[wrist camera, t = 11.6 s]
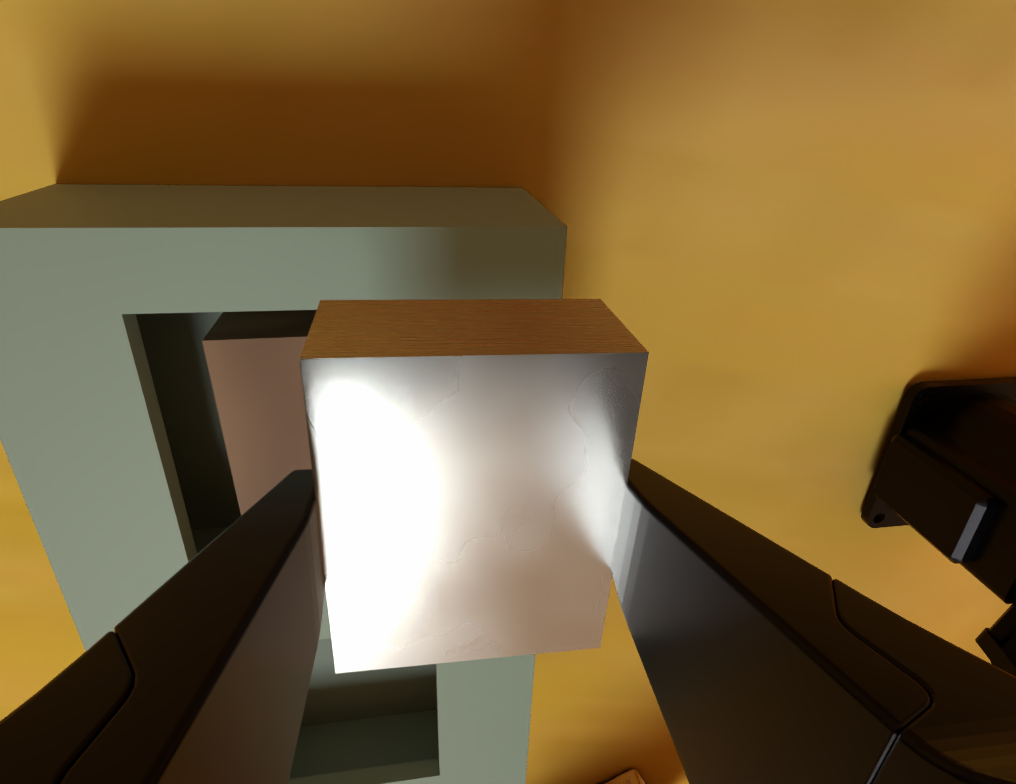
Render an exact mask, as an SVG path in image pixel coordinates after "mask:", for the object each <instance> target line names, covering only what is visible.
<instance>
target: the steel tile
mask: <svg viewBox="0 0 1016 784" xmlns="http://www.w3.org/2000/svg"><path fill="white" fill-rule="evenodd" d="M648 354H649V352H648V351H647V350H646V349H645V348H644V347H643V346H642V344H641V343H640V342H639V341H638V340H637V339H636V338H635V337H634V336H633V334H632V333H631V332H630V331H629V330H628V329H627V328H626V327H625V326H624V325H623V323H622V322H621V321H620V320H619V319H618V318H617V317H616V316H615V315H614V314H613V312H612V311H611V310H610V309H609V308H608V307H607V306H606V305H605V304H604V302H603V301H602V300H601V299H464V300H320V302H319V305H318V308H317V311H316V314H315V316H314V319H313V322H312V325H311V327H310V330H309V333H308V336H307V339H306V341H305V344H304V347H303V350H302V353H301V355H300V358H299V361H300V369H301V378H302V387H303V395H304V404H305V413H306V421H307V430H308V439H309V447H310V456H311V465H312V474H313V482H314V491H315V497H316V499H317V507H318V518H319V529H320V540H321V551H322V560H323V569H324V578H325V586H326V595H327V604H328V613H329V621H330V630H331V639H332V647H333V656H334V665H335V673H346V672H356V671H366V670H377V669H387V668H397V667H407V666H417V665H428V664H438V663H448V662H458V661H468V660H479V659H489V658H499V657H509V656H519V655H530V654H540V653H550V652H560V651H570V650H581V649H591V648H600V645H601V639H602V633H603V627H604V621H605V615H606V609H607V603H608V597H609V591H610V585H611V578H612V571H611V565H612V560H613V554H614V549H615V543H616V538H617V532H618V527H619V521H620V516H621V510H622V505H623V500H624V494H625V489H626V485H627V481H628V475H629V469H630V463H631V457H632V451H633V445H634V439H635V433H636V427H637V420H638V414H639V408H640V402H641V396H642V390H643V384H644V378H645V372H646V366H647V360H648Z"/></svg>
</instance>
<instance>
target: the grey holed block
mask: <svg viewBox="0 0 1016 784" xmlns="http://www.w3.org/2000/svg"><path fill="white" fill-rule="evenodd" d="M566 235H567V226H566V225H565V224H564V223H562V222H561V221H560V220H559V219H558V218H557V217H556V216H554V215H553V214H552V213H551V212H550V211H549V210H548V209H546V208H545V207H544V206H543V205H542V204H541V203H540V202H539V201H537V200H536V199H535V198H534V197H533V196H532V195H531V194H529V193H528V192H527V191H526V190H525V189H524V188H502V187H372V186H243V185H113V184H53V185H50V186H47V187H44V188H41V189H37V190H34V191H31V192H28V193H25V194H22V195H19V196H15V197H12V198H9V199H6V200H3V201H0V440H1V442H2V445H3V447H4V450H5V452H6V455H7V457H8V460H9V462H10V464H11V467H12V469H13V472H14V474H15V477H16V479H17V482H18V484H19V487H20V489H21V492H22V494H23V497H24V499H25V502H26V504H27V507H28V509H29V512H30V514H31V516H32V519H33V521H34V524H35V526H36V529H37V531H38V534H39V536H40V539H41V541H42V544H43V546H44V549H45V551H46V554H47V556H48V559H49V561H50V564H51V566H52V568H53V571H54V573H55V576H56V578H57V581H58V583H59V586H60V588H61V591H62V593H63V596H64V598H65V601H66V603H67V606H68V608H69V611H70V613H71V616H72V618H73V621H74V623H75V625H76V628H77V630H78V633H79V635H80V638H81V640H82V643H83V645H84V648H85V650H86V651H87V650H88V649H89V648H90V647H92V646H93V645H94V644H95V643H96V642H97V641H98V640H100V639H101V638H102V637H103V636H104V635H105V634H106V633H108V632H110V631H113V632H114V627H115V626H116V625H117V624H118V623H119V622H120V621H122V620H123V619H124V618H125V617H126V616H127V615H128V614H130V613H131V612H132V611H133V610H134V609H135V608H136V607H138V606H139V605H140V604H141V603H142V602H143V601H144V600H146V599H147V598H148V597H149V596H150V595H151V594H152V593H154V592H155V591H156V590H157V589H158V588H159V587H160V586H162V585H163V584H164V583H165V582H166V581H167V580H168V579H170V578H171V577H172V576H173V575H174V574H175V573H176V572H178V571H179V570H180V569H181V568H182V567H183V566H184V565H186V564H187V563H188V562H189V561H190V560H191V559H192V558H194V557H195V556H196V555H197V554H198V553H199V552H200V551H202V550H203V549H204V548H205V547H206V546H207V545H208V544H210V543H211V542H212V541H213V540H214V539H215V538H216V537H218V536H219V535H220V534H221V533H222V532H223V531H224V530H226V529H227V528H228V527H229V526H230V525H231V524H232V523H234V522H235V521H236V520H237V519H238V518H239V517H240V516H241V513H240V508H239V504H238V499H237V495H236V490H235V486H234V481H233V477H232V473H231V468H230V464H229V459H228V455H227V450H226V446H225V441H224V437H223V432H222V428H221V423H220V419H219V414H218V410H217V405H216V401H215V396H214V392H213V387H212V383H211V378H210V374H209V369H208V365H207V361H206V356H205V352H204V347H203V343H202V340H203V339H204V337H205V336H206V335H207V333H208V332H209V331H210V329H211V328H212V327H213V325H214V324H215V322H216V321H217V320H218V318H219V317H220V316H221V314H222V313H223V312H240V311H283V310H317V308H318V305H319V302H320V300H464V299H562V288H563V275H564V261H565V248H566ZM534 662H535V654H530V655H519V656H509V657H499V658H489V659H479V660H468V661H458V662H448V663H438V664H428V665H417V666H407V667H397V668H387V669H377V670H366V671H356V672H346V673H335V665H334V656H333V647H332V639H331V630H330V621H329V613H328V604H327V595H326V586H325V589H324V602H323V613H322V622H321V630H320V636H319V641H318V647H317V652H316V656H315V661H314V666H313V670H312V675H311V680H310V684H309V689H308V693H307V698H306V703H305V707H304V712H303V717H302V721H301V726H300V731H299V735H298V740H297V745H296V749H295V754H294V759H293V763H292V768H291V773H290V777H289V782H288V784H525V782H526V769H527V756H528V742H529V729H530V716H531V702H532V689H533V675H534Z"/></svg>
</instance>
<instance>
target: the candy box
mask: <svg viewBox="0 0 1016 784" xmlns="http://www.w3.org/2000/svg"><path fill="white" fill-rule="evenodd" d="M604 784H645V782H644V781H643V779H642V778H641V776H640V775H639V774H638V772H637V771H636V770H634V769H631V770H629V771H627V772H625V773H623V774H621V775H619V776H617V777H616V778H615V779H613V780H610V781H609V782H607V783H604Z"/></svg>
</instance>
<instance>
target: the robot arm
mask: <svg viewBox="0 0 1016 784" xmlns="http://www.w3.org/2000/svg"><path fill="white" fill-rule="evenodd" d="M861 518H862V520H863V521H864V522H865V523H866V524H867V525H868V526H870V527H871V528H880V527H891V526H902V525H910V526H911V527H912V528H913V529H914V530H915V531H917V532H918V533H919V534H920V535H921V536H922V537H924V538H925V539H926V540H927V541H928V542H929V543H930V544H932V545H933V546H934V547H935V548H936V549H937V550H938V551H940V552H941V553H942V554H943V555H944V556H945V557H946V558H948V559H949V560H950V561H951V562H953V563H959V564H961V565H962V566H963V567H964V568H965V569H966V570H968V571H969V572H970V573H971V574H972V575H973V576H974V577H976V578H977V579H978V580H979V581H980V582H981V583H983V584H984V585H985V586H986V587H987V588H988V589H990V590H991V591H992V592H993V593H994V594H995V595H996V596H998V597H999V598H1000V599H1001V600H1002V601H1003V602H1005V603H1006V604H1012V603H1013V604H1012V605H1011V606H1010V607H1009V608H1008V609H1007V610H1006V611H1005V613H1004V614H1003V615H1002V616H1001V617H1000V618H999V619H998V620H997V621H996V622H995V623H994V624H993V625H992V627H991V628H985V629H984V630H983V631H982V632H981V633H980V635H979V636H978V637H977V638H976V639H975V641H976V642H977V644H978V645H979V646H980V648H981V649H982V650H983V651H984V653H985V654H986V655H987V657H988V658H989V659H990V661H991V664H990V663H988V662H986V661H984V660H982V659H980V658H979V657H977V656H975V655H973V654H971V653H969V652H967V651H965V650H963V649H961V648H959V647H957V646H955V645H953V644H952V643H950V642H948V641H946V640H944V639H942V638H940V637H938V636H936V635H935V634H933V633H931V632H929V631H927V630H925V629H923V628H921V627H919V626H918V625H916V624H914V623H912V622H910V621H908V620H906V619H904V618H903V617H901V616H899V615H897V614H896V613H894V612H892V611H890V610H889V609H887V608H885V607H883V606H882V605H880V604H878V603H876V602H875V601H873V600H871V599H869V598H868V597H866V596H864V595H862V594H861V593H859V592H857V591H856V590H854V589H852V588H851V587H849V586H847V585H846V584H844V583H842V582H841V581H839V580H837V579H834V580H832V578H831V576H830V575H829V574H827V573H825V572H823V571H822V570H820V569H818V568H817V567H815V566H813V565H812V564H810V563H808V562H807V561H805V560H803V559H802V558H800V557H798V556H796V555H795V554H793V553H791V552H790V551H788V550H786V549H785V548H783V547H781V546H780V545H778V544H776V543H774V542H773V541H771V540H769V539H768V538H766V537H764V536H763V535H761V534H759V533H758V532H756V531H754V530H752V529H751V528H749V527H747V526H746V525H744V524H742V523H741V522H739V521H737V520H736V519H734V518H732V517H731V516H729V515H727V514H725V513H724V512H722V511H720V510H719V509H717V508H715V507H714V506H712V505H710V504H709V503H707V502H705V501H703V500H702V499H700V498H698V497H697V496H695V495H693V494H692V493H690V492H688V491H687V490H685V489H683V488H681V487H680V486H678V485H676V484H675V483H673V482H671V481H670V480H668V479H666V478H665V477H663V476H661V475H659V474H658V473H656V472H654V471H653V470H651V469H649V468H648V467H646V466H644V465H643V464H641V463H639V462H638V461H636V460H634V459H631V463H630V469H629V475H628V481H627V485H626V489H625V494H624V500H623V505H622V510H621V516H620V521H619V527H618V532H617V538H616V543H615V549H614V554H613V560H612V565H611V571H612V575H613V578H614V582H615V586H616V590H617V594H618V597H619V601H620V604H621V608H622V611H623V613H624V616H625V619H626V622H627V624H628V627H629V630H630V632H631V635H632V637H633V640H634V642H635V645H636V648H637V650H638V653H639V655H640V658H641V661H642V663H643V666H644V668H645V671H646V673H647V676H648V679H649V681H650V684H651V686H652V689H653V691H654V694H655V697H656V699H657V702H658V704H659V707H660V709H661V712H662V715H663V717H664V720H665V722H666V725H667V728H668V730H669V733H670V735H671V738H672V740H673V743H674V746H675V748H676V751H677V753H678V756H679V758H680V761H681V764H682V766H683V769H684V771H685V774H686V776H687V779H688V782H689V784H1016V377H1015V378H995V379H974V380H953V381H933V382H920V383H916V384H914V385H913V386H911V387H910V388H909V389H908V390H907V392H906V394H905V396H904V399H903V402H902V405H901V407H900V410H899V413H898V415H897V418H896V421H895V424H894V426H893V429H892V432H891V434H890V437H889V440H888V443H887V445H886V448H885V451H884V453H883V456H882V459H881V462H880V464H879V467H878V470H877V472H876V475H875V478H874V481H873V483H872V486H871V489H870V491H869V494H868V497H867V500H866V502H865V505H864V508H863V511H862V513H861ZM324 589H325V578H324V569H323V560H322V551H321V540H320V529H319V518H318V507H317V499H316V497H315V491H314V482H313V474H312V469H303V470H294V471H292V472H291V473H290V474H288V475H287V476H286V477H285V478H284V479H283V480H282V481H280V482H279V483H278V484H277V485H276V486H275V487H274V488H272V489H271V490H270V491H269V492H268V493H267V494H266V495H264V496H263V497H262V498H261V499H260V500H259V501H258V502H256V503H255V504H254V505H253V506H252V507H251V508H250V509H248V510H247V511H246V512H245V513H244V514H243V515H242V516H240V517H239V518H238V519H237V520H236V521H235V522H234V523H232V524H231V525H230V526H229V527H228V528H227V529H226V530H224V531H223V532H222V533H221V534H220V535H219V536H218V537H216V538H215V539H214V540H213V541H212V542H211V543H210V544H208V545H207V546H206V547H205V548H204V549H203V550H202V551H200V552H199V553H198V554H197V555H196V556H195V557H194V558H192V559H191V560H190V561H189V562H188V563H187V564H186V565H184V566H183V567H182V568H181V569H180V570H179V571H178V572H176V573H175V574H174V575H173V576H172V577H171V578H170V579H168V580H167V581H166V582H165V583H164V584H163V585H162V586H160V587H159V588H158V589H157V590H156V591H155V592H154V593H152V594H151V595H150V596H149V597H148V598H147V599H146V600H144V601H143V602H142V603H141V604H140V605H139V606H138V607H136V608H135V609H134V610H133V611H132V612H131V613H130V614H128V615H127V616H126V617H125V618H124V619H123V620H122V621H120V622H119V623H118V624H117V625H116V626H115V627H114V632H113V631H110V632H108V633H106V634H105V635H104V636H103V637H102V638H101V639H100V640H98V641H97V642H96V643H95V644H94V645H93V646H92V647H90V648H89V649H88V650H87V651H86V652H85V653H84V654H82V655H81V656H80V657H79V658H78V659H76V660H75V661H74V662H73V663H72V664H70V665H69V666H68V667H67V668H66V669H65V670H63V671H62V672H61V673H60V674H59V675H57V676H56V677H55V678H54V679H53V680H51V681H50V682H49V683H48V684H47V685H45V686H44V687H43V688H42V689H41V690H39V691H38V692H37V693H36V694H35V695H33V696H32V697H31V698H29V699H28V700H27V701H26V702H24V703H23V704H22V705H20V706H19V707H18V708H17V709H15V710H14V711H13V712H11V713H10V714H9V715H8V716H6V717H5V718H4V719H2V720H1V721H0V784H288V782H289V777H290V773H291V768H292V763H293V759H294V754H295V749H296V745H297V740H298V735H299V731H300V726H301V721H302V717H303V712H304V707H305V703H306V698H307V693H308V689H309V684H310V680H311V675H312V670H313V666H314V661H315V656H316V652H317V647H318V641H319V636H320V630H321V622H322V613H323V602H324Z"/></svg>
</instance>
